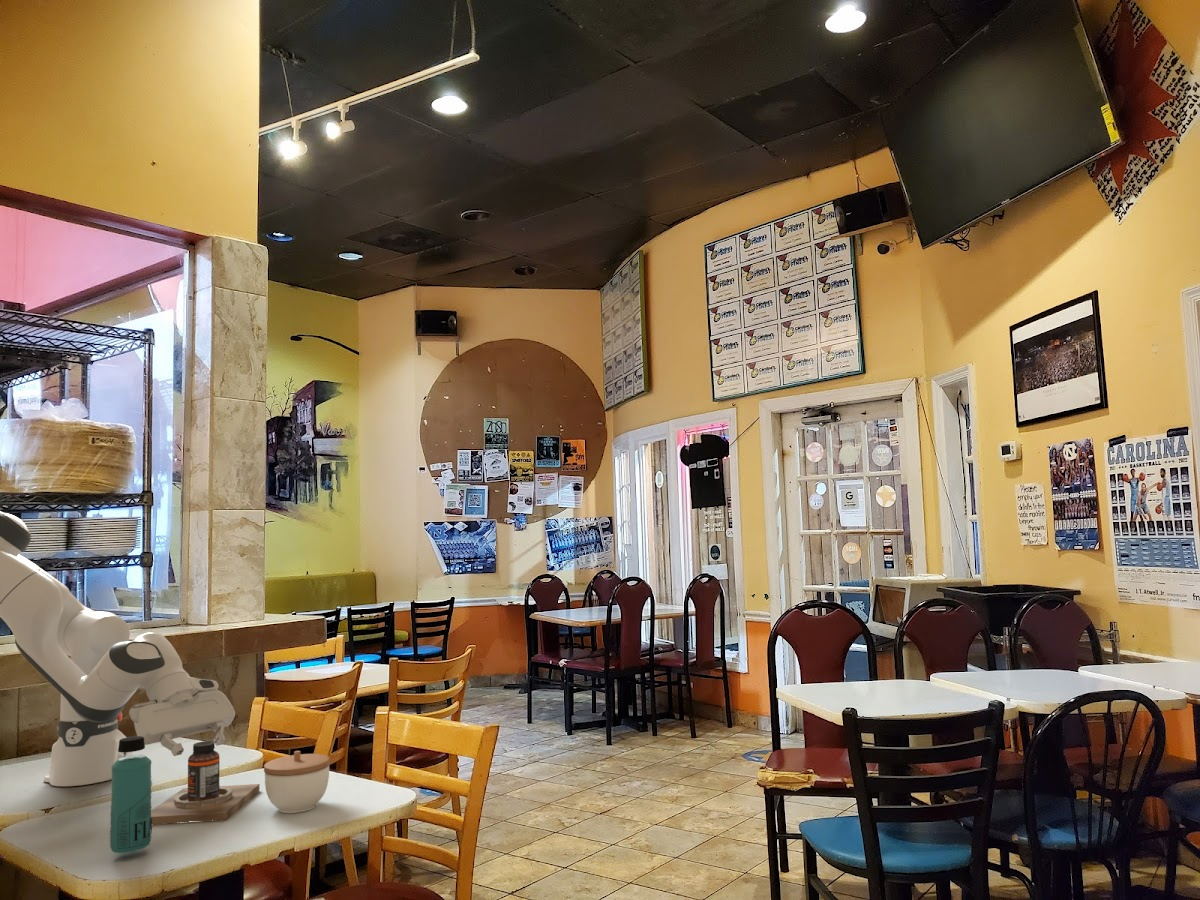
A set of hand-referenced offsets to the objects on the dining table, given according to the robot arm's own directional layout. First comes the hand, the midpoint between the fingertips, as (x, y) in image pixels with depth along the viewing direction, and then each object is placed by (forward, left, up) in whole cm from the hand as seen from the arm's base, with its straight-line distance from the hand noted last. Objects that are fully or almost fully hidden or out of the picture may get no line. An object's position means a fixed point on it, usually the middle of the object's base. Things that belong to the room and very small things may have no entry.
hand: (200, 748), depth 181 cm
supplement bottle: (+2, +1, -10) cm, 10 cm away
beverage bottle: (+29, -1, -12) cm, 31 cm away
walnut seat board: (+2, +1, -11) cm, 12 cm away
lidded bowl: (+6, +21, -12) cm, 25 cm away
